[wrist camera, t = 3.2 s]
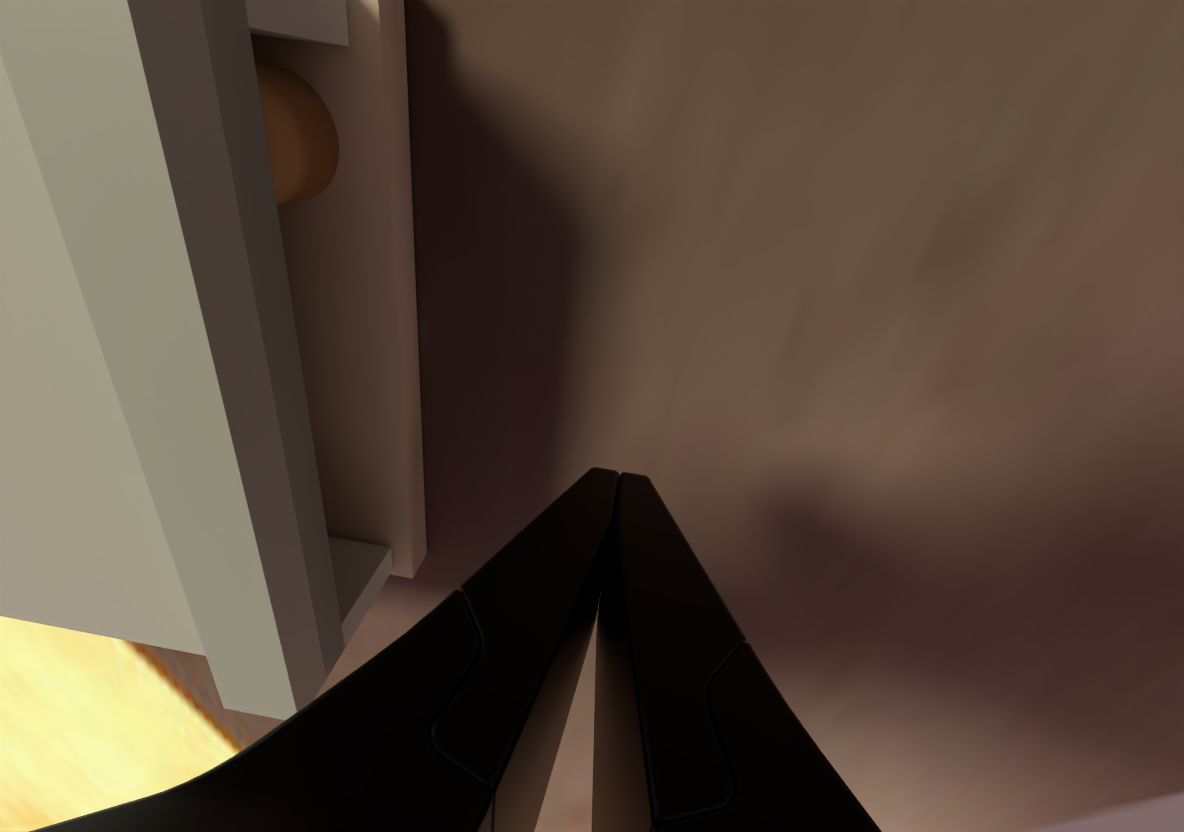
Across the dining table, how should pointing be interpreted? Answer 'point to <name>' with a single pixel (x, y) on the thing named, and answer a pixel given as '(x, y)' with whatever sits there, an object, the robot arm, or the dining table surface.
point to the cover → (161, 349)
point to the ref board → (352, 268)
